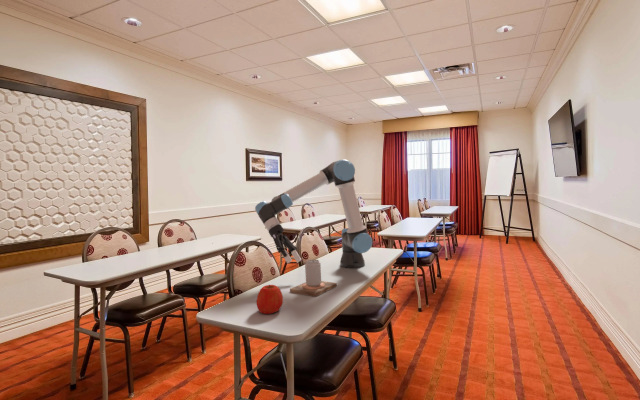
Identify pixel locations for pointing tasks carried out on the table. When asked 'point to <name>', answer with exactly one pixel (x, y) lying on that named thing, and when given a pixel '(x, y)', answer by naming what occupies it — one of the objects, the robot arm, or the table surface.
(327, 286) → the board
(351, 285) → the table surface
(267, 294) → the apple
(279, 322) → the table surface
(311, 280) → the can
